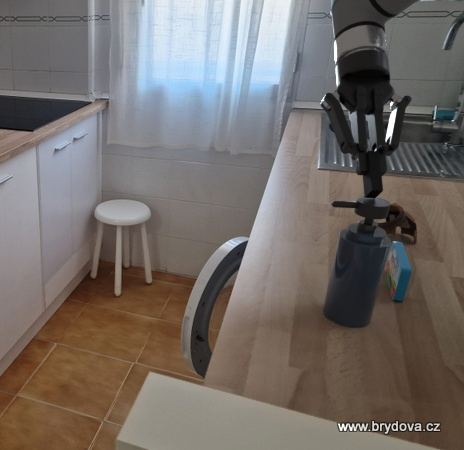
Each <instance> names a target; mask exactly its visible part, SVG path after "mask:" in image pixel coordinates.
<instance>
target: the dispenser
mask: <svg viewBox="0 0 464 450" xmlns="http://www.w3.org/2000/svg"><path fill="white" fill-rule="evenodd" d="M364 220H365V218H362V219H359V220H358V222H354V223H351V224H348V225H347V227H346V228H343V229H342V230H340V231H339V233H338V237H337V243H336V246H335V247H336V248H335V252H334V257H333V261H332V265H331V270H330V274H329V279H328V284H327V288H326V289H327V290H326V293H325V296H324V297H325V298H324V303H323V307H322V313H323V316H325V318H326V319H328V320H329V321H330V322H332V323H334V324H336V325H339V326H341V327H346V328H352V329H360V328H365V327H367V326H369V325H370V324H371V322H372V318H373V315H374V310H375V307H376V302H377V299H378V296H379V291H380V288H381V284H382V280H383V276H384V273H385V269H386V265H387V261H388V257H389V253H390V250H391V246H392V240H391V239H390V237H389V236H387V234H386V231H385V230H383V229H382V228H380V227H378V223H379V222H377V221H375V220H374V221H373V224H367V223H365V222H364Z"/></svg>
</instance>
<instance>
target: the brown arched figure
mask: <svg viewBox="0 0 464 450" xmlns="http://www.w3.org/2000/svg"><path fill="white" fill-rule="evenodd" d="M384 220H385V221H384V222H377V223H378V227H380V228H382V229H383V230H385V231H386V235H392V236H394V237H395V236H397V228H398V227H399V228H400V235H408V236H410V237H412V238H413V244H414V245H416V244H417V243H418V229H417V223H416V220H415V218H414V217H413V215H412V214H411V213H410V212H409V211H407V210H405V209H404V208H403V207H402V206H401V205H400V204H398V203H397V202H393V203H390V209H389V212H388V216H387V218H385V219H384Z"/></svg>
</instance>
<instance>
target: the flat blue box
mask: <svg viewBox="0 0 464 450" xmlns="http://www.w3.org/2000/svg"><path fill="white" fill-rule="evenodd" d="M412 272H413V268H412V266H411V263H410V260H409V257H408V255H407V252H406V248H405V246H404V242H401V241H395V240H393V241H391V246H390V249H389V253H388V257H387V261H386V265H385V269H384V273H385V276H386V279H387V283H388V287H389V291H390V295H391V299H392V301H396V302H401V303H402V302H404V300H405V296H406V293H407V290H408V286H409V283H410V279H411V275H412Z"/></svg>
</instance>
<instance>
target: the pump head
mask: <svg viewBox="0 0 464 450" xmlns="http://www.w3.org/2000/svg"><path fill="white" fill-rule="evenodd" d="M390 204H391V202H390V201H388V200H387V199H385V198H384V199H383V198H381V197H378V196H377V197H376V198H365V196H364V195H363V196H358V197H357V198H356V200H355V201H353V200H351V201H348V200H333V201H332V202H331V207H333V208H342V209H353V213H354V214H355V215H357V216H359V217H362V218H363V219H365V220H364V222H365V223H367V224H373V221H375V220H386V219H385V218H387V216H388V212H389V209H390Z"/></svg>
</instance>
